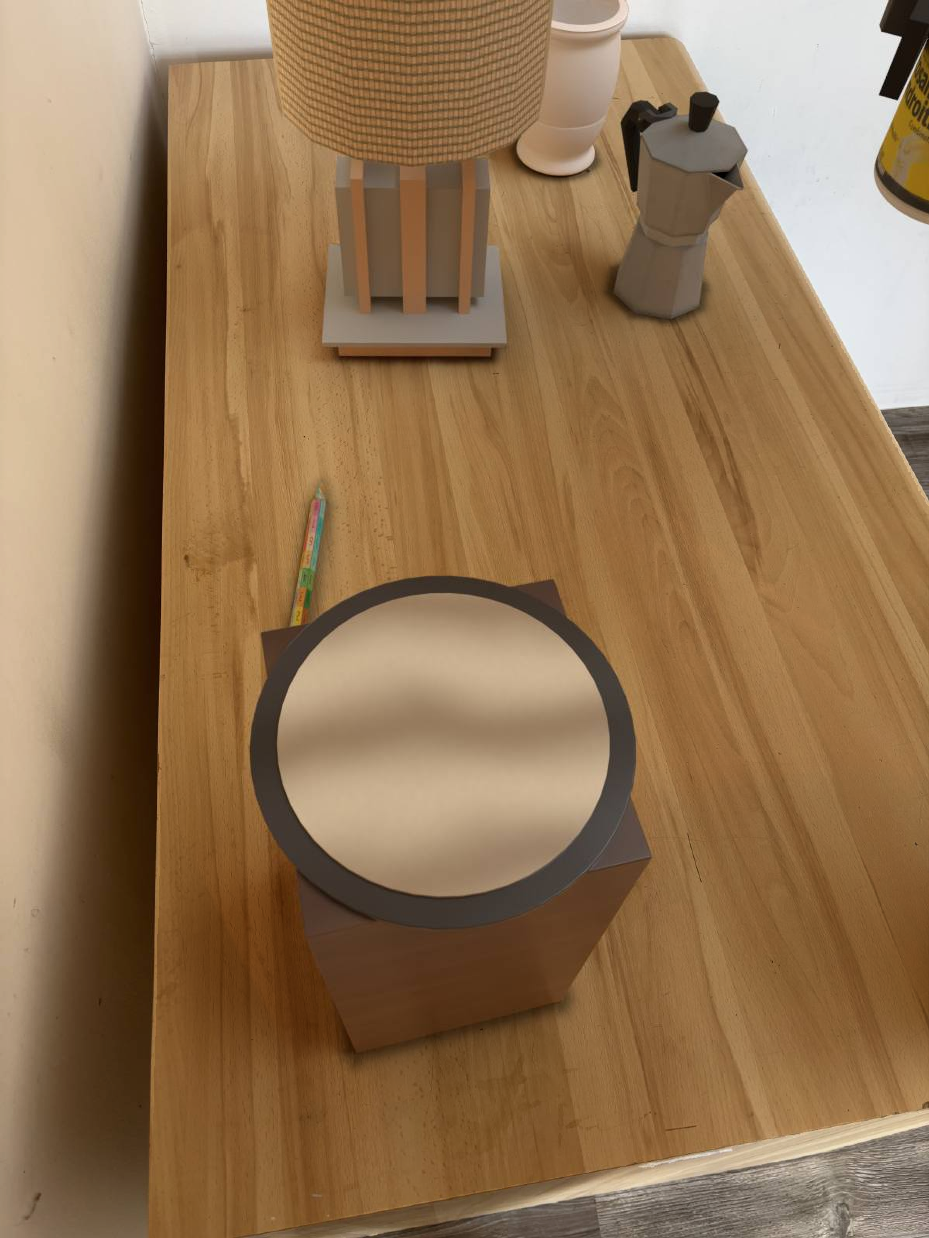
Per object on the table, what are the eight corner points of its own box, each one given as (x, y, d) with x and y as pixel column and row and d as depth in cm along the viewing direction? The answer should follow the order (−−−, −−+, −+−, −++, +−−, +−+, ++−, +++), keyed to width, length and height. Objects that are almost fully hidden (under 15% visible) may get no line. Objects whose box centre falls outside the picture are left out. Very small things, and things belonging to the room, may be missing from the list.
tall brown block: (582, 1015, 54) (694, 873, 31) (341, 1077, 51) (275, 973, 29) (518, 791, 61) (572, 545, 38) (304, 837, 59) (228, 606, 36)
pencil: (314, 486, 74) (280, 685, 64) (313, 477, 73) (277, 677, 63) (330, 487, 74) (298, 686, 64) (329, 478, 73) (297, 678, 63)
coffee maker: (737, 312, 87) (802, 122, 72) (663, 344, 84) (715, 154, 69) (639, 226, 94) (679, 35, 78) (567, 253, 91) (595, 61, 76)
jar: (623, 168, 99) (651, 15, 86) (540, 194, 96) (558, 39, 83) (568, 118, 104) (588, -34, 91) (488, 141, 101) (497, -12, 88)
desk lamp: (300, 389, 80) (226, -100, 50) (313, 245, 90) (257, -229, 61) (528, 389, 81) (587, -91, 51) (514, 247, 91) (556, -220, 62)
